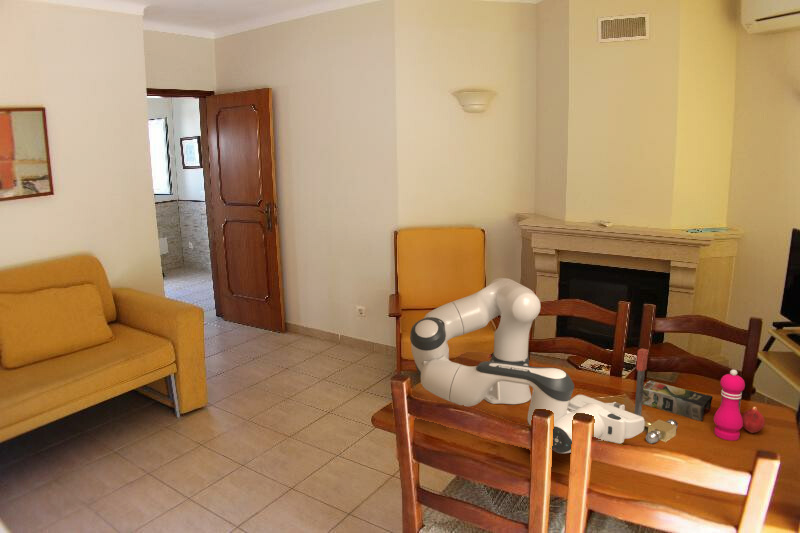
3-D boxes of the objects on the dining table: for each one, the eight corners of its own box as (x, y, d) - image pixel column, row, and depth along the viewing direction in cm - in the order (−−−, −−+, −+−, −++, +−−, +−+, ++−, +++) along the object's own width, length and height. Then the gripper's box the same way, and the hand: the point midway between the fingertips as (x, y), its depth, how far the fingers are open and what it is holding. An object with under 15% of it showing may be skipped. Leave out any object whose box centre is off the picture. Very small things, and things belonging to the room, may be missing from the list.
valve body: (628, 435, 164) (629, 425, 163) (652, 420, 173) (653, 411, 172) (658, 447, 157) (659, 437, 157) (682, 431, 166) (683, 421, 165)
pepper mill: (745, 442, 159) (753, 375, 155) (717, 440, 160) (724, 373, 156) (735, 430, 166) (743, 365, 162) (708, 428, 167) (715, 364, 163)
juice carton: (634, 403, 185) (636, 385, 183) (645, 394, 192) (647, 377, 190) (701, 423, 171) (704, 404, 170) (711, 413, 178) (713, 394, 177)
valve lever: (631, 424, 169) (637, 350, 164) (635, 421, 171) (641, 348, 166) (638, 426, 168) (644, 351, 163) (642, 424, 169) (648, 350, 164)
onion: (763, 439, 161) (766, 413, 159) (739, 434, 164) (742, 408, 162) (763, 431, 165) (766, 405, 164) (740, 426, 168) (743, 401, 167)
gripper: (558, 418, 160) (586, 404, 169) (626, 446, 145) (653, 429, 153) (559, 397, 159) (588, 384, 167) (628, 423, 143) (655, 407, 152)
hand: (620, 405), depth 160 cm, fingers closed
